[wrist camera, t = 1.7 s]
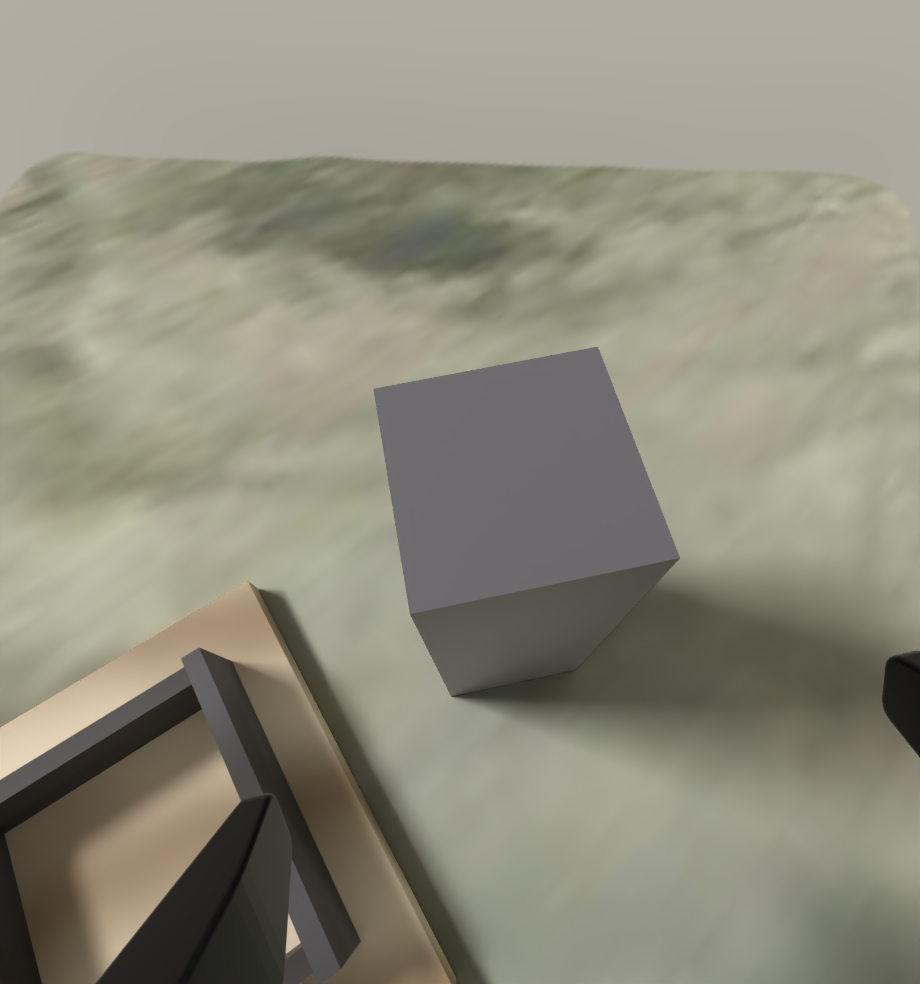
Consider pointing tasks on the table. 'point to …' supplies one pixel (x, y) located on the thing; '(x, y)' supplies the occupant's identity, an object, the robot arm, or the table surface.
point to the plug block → (519, 515)
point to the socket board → (192, 808)
